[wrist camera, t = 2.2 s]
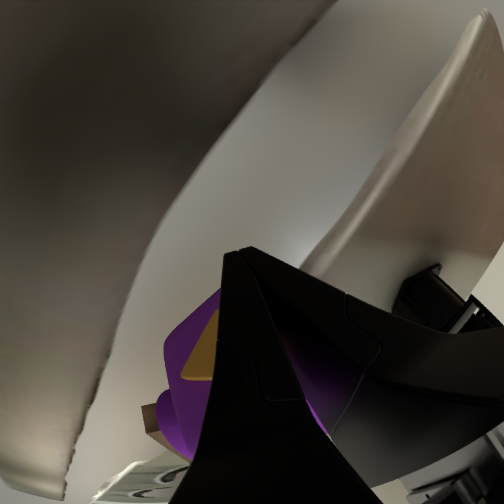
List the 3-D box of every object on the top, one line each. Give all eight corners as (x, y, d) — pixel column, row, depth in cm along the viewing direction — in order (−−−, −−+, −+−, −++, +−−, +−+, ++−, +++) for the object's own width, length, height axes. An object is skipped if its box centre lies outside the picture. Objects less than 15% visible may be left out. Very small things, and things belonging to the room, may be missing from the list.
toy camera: (126, 371, 19) (148, 493, 11) (225, 234, 16) (316, 394, 8) (231, 389, 25) (269, 478, 18) (331, 291, 22) (407, 388, 14)
